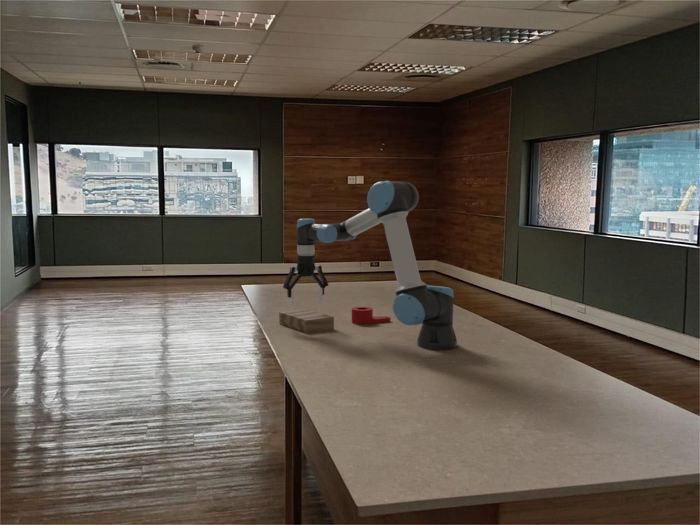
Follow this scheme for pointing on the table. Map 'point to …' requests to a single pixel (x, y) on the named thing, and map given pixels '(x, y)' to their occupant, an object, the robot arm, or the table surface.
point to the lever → (366, 316)
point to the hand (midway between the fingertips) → (306, 303)
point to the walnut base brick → (306, 320)
